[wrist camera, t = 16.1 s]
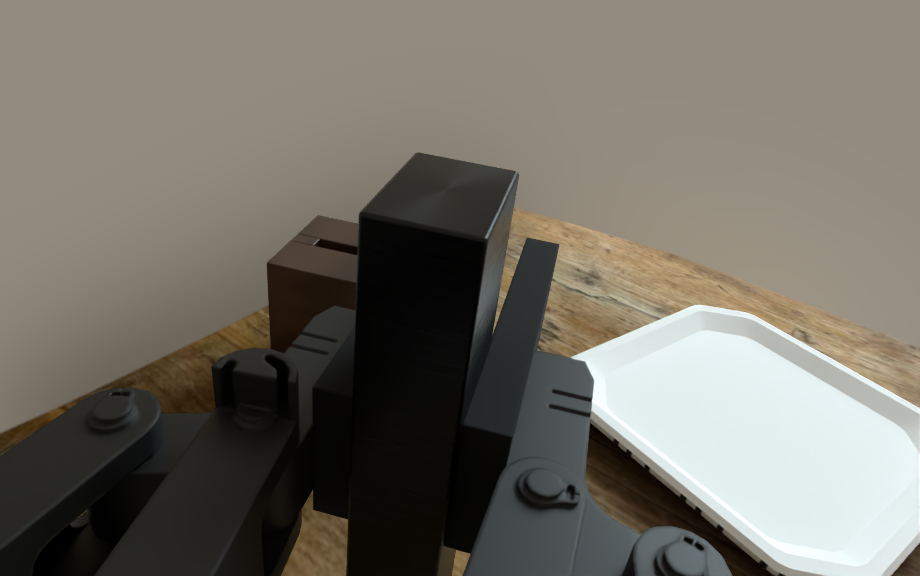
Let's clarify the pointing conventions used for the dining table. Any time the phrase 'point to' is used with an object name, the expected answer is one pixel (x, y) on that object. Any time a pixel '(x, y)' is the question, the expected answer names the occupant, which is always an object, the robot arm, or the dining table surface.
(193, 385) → the dining table surface
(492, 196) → the knife
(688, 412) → the plate
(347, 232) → the knife block
